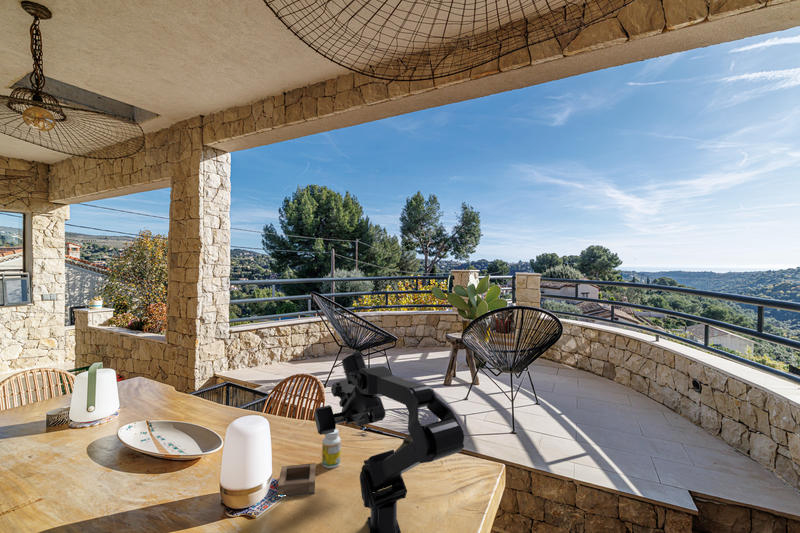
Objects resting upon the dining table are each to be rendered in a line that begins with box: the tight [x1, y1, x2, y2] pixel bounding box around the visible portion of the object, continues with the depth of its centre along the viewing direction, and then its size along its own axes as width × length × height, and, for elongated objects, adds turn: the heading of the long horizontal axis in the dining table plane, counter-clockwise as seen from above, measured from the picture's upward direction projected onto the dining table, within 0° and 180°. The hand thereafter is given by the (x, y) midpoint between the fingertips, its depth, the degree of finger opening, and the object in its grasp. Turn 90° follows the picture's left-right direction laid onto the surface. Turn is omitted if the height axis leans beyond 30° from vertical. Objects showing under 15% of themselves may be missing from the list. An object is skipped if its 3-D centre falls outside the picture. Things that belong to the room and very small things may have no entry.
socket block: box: [276, 462, 316, 498], centre depth 91 cm, size 9×9×3 cm
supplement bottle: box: [321, 428, 342, 469], centre depth 102 cm, size 5×5×10 cm
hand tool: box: [394, 434, 412, 453], centre depth 105 cm, size 19×4×5 cm, turn 153°
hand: (341, 428), depth 96 cm, fingers open, 9 cm apart
